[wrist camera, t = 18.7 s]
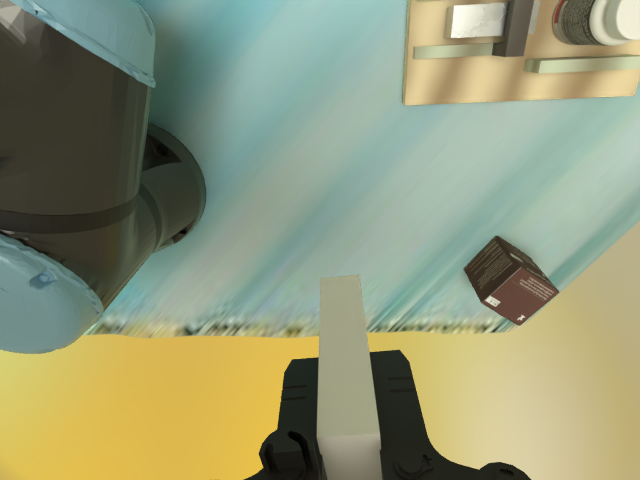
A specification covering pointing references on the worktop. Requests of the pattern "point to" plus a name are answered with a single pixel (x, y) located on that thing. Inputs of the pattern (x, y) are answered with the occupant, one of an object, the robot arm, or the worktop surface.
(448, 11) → the pin
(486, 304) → the box
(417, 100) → the mount
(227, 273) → the worktop surface
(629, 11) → the pill bottle
